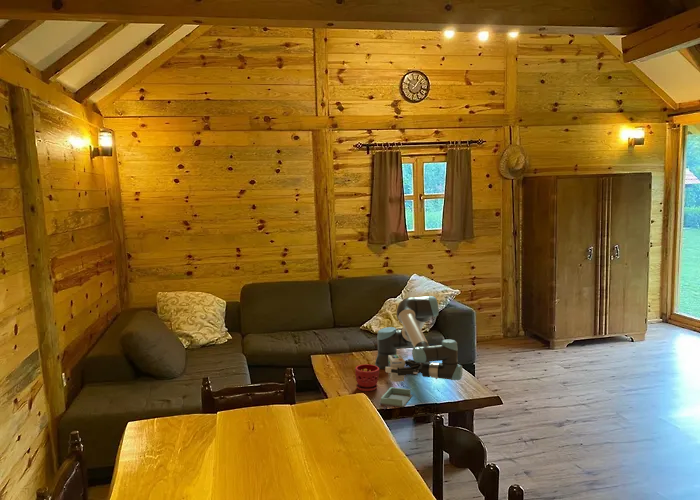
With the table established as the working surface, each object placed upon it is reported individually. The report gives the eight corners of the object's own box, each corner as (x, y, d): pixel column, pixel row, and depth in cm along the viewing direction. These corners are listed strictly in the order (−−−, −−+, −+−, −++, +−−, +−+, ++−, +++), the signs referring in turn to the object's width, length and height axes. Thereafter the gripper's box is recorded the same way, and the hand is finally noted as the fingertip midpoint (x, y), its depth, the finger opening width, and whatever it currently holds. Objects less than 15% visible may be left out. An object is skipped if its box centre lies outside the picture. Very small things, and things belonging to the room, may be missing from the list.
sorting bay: (380, 404, 261) (380, 398, 261) (390, 392, 276) (390, 387, 275) (403, 407, 256) (403, 401, 256) (412, 395, 271) (412, 389, 271)
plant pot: (363, 394, 274) (362, 373, 273) (351, 387, 286) (350, 366, 285) (384, 389, 280) (383, 368, 279) (371, 382, 292) (371, 362, 291)
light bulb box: (388, 375, 270) (387, 354, 269) (400, 374, 271) (400, 354, 270) (391, 382, 259) (391, 361, 258) (405, 381, 260) (404, 360, 259)
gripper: (424, 385, 247) (382, 380, 255) (436, 369, 269) (396, 365, 277) (424, 370, 246) (381, 365, 254) (436, 355, 268) (396, 351, 276)
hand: (389, 365), depth 266 cm, fingers closed on light bulb box, 12 cm apart
